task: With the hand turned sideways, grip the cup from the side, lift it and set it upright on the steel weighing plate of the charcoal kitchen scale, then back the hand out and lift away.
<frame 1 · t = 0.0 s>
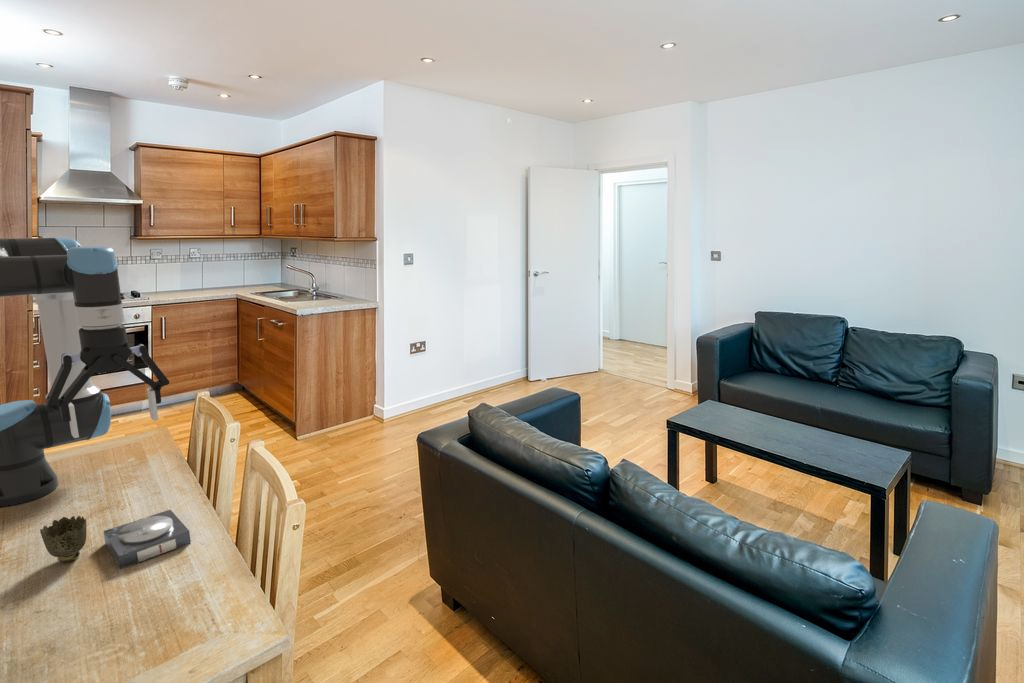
hand: (116, 427, 113), 28 cm above the table, tool pointing down, fingers open, 13 cm apart
kitchen scale: (148, 543, 121), on the table
cup: (69, 559, 115), on the table
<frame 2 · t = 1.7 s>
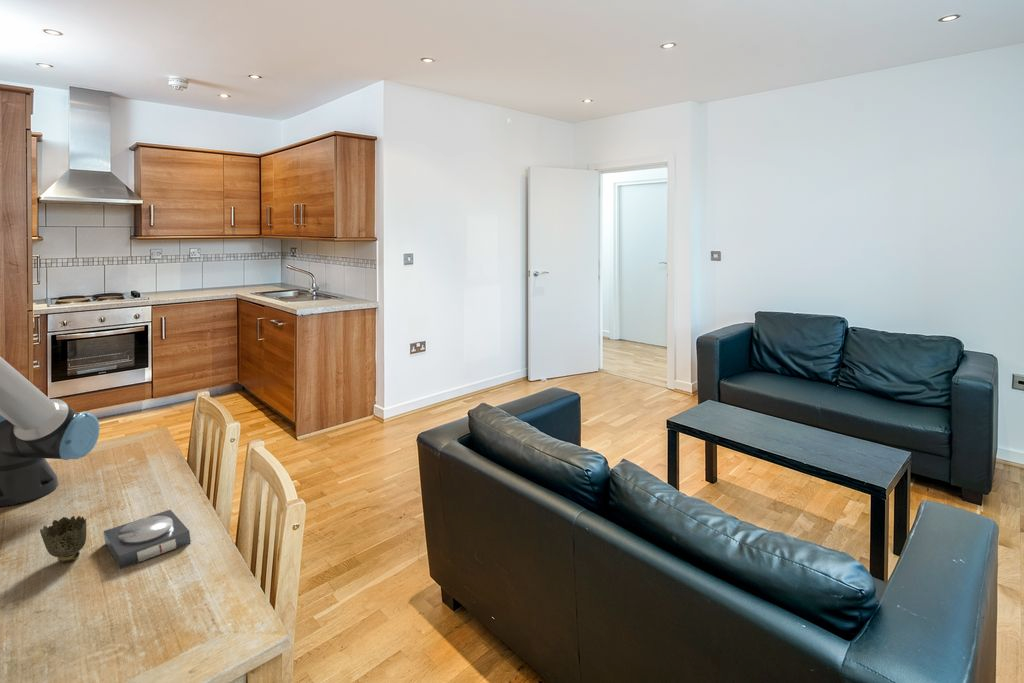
nothing on the table moved.
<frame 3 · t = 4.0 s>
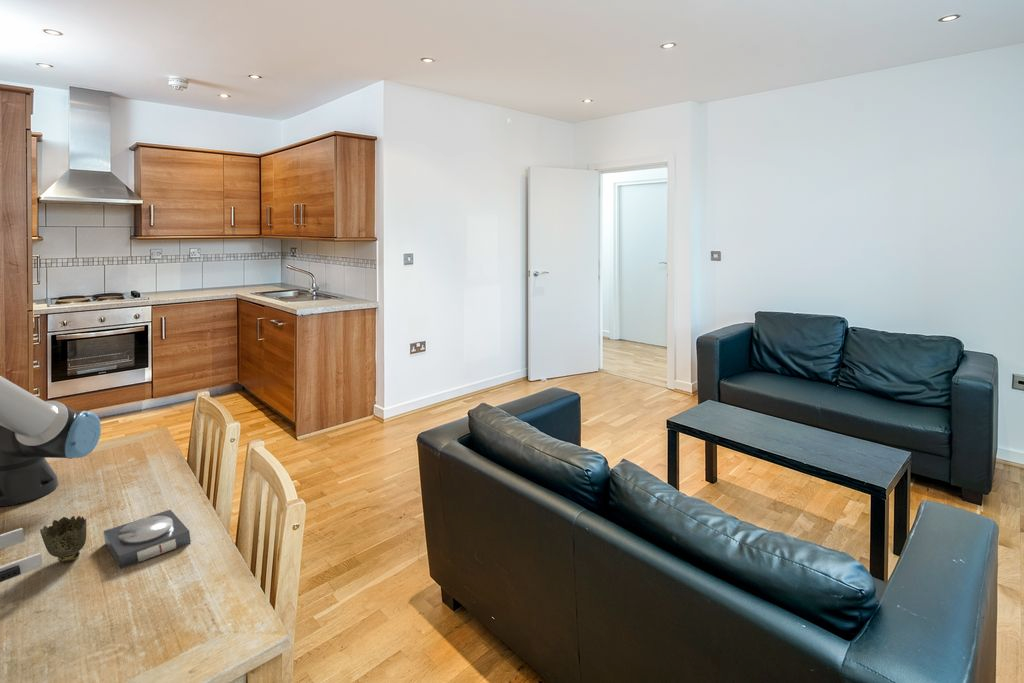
hand: (32, 546, 109), 6 cm above the table, tool horizontal, fingers open, 13 cm apart
nothing on the table moved.
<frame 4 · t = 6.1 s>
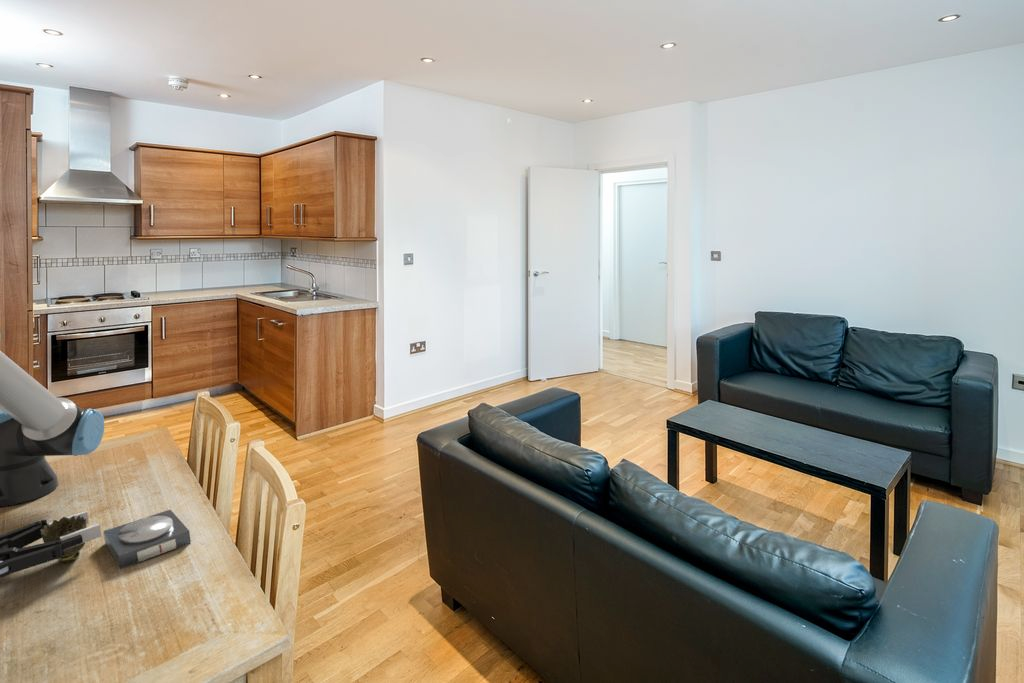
hand: (93, 523, 117), 6 cm above the table, tool horizontal, fingers closed on cup, 7 cm apart
cup: (69, 559, 115), on the table, touching gripper
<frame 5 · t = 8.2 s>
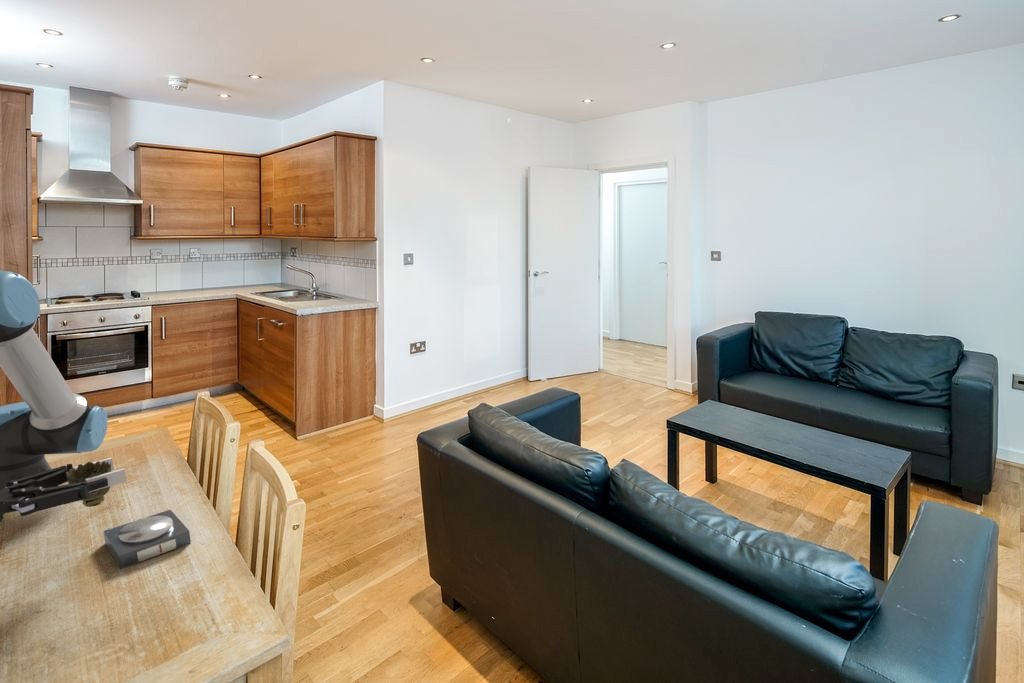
hand: (118, 469, 116), 18 cm above the table, tool horizontal, fingers closed on cup, 7 cm apart
cup: (94, 504, 114), point 12 cm above the table, touching gripper
when the fingers open (11 cm above the table, at t = 10.3 s): cup drops 1 cm, resting on kitchen scale.
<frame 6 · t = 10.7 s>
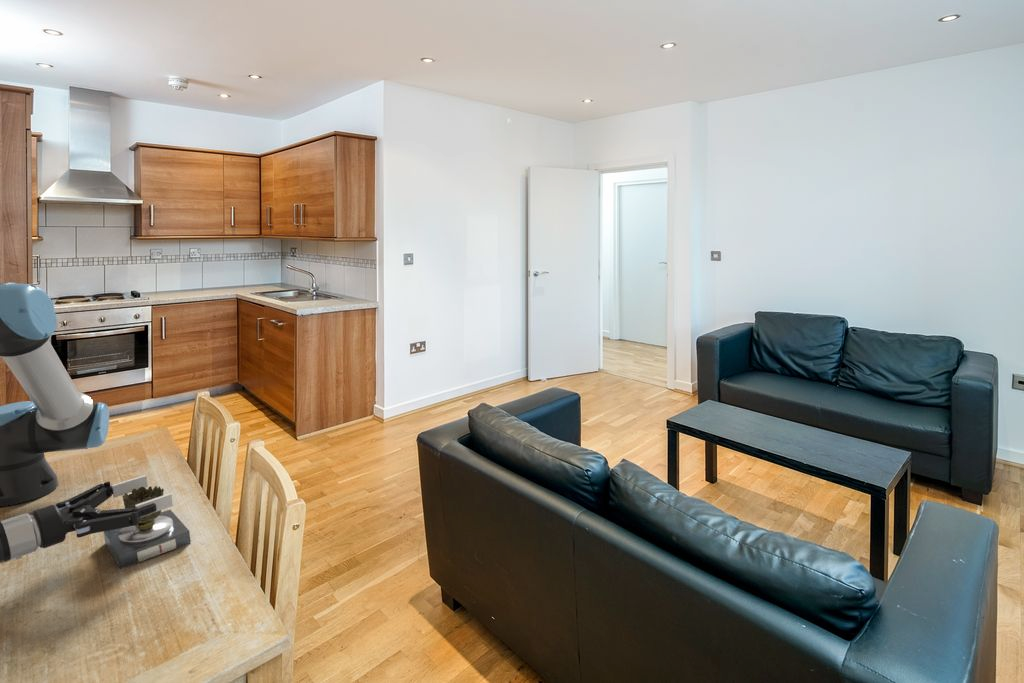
hand: (158, 489, 121), 11 cm above the table, tool horizontal, fingers open, 13 cm apart
cup: (145, 527, 120), point 4 cm above the table, touching kitchen scale
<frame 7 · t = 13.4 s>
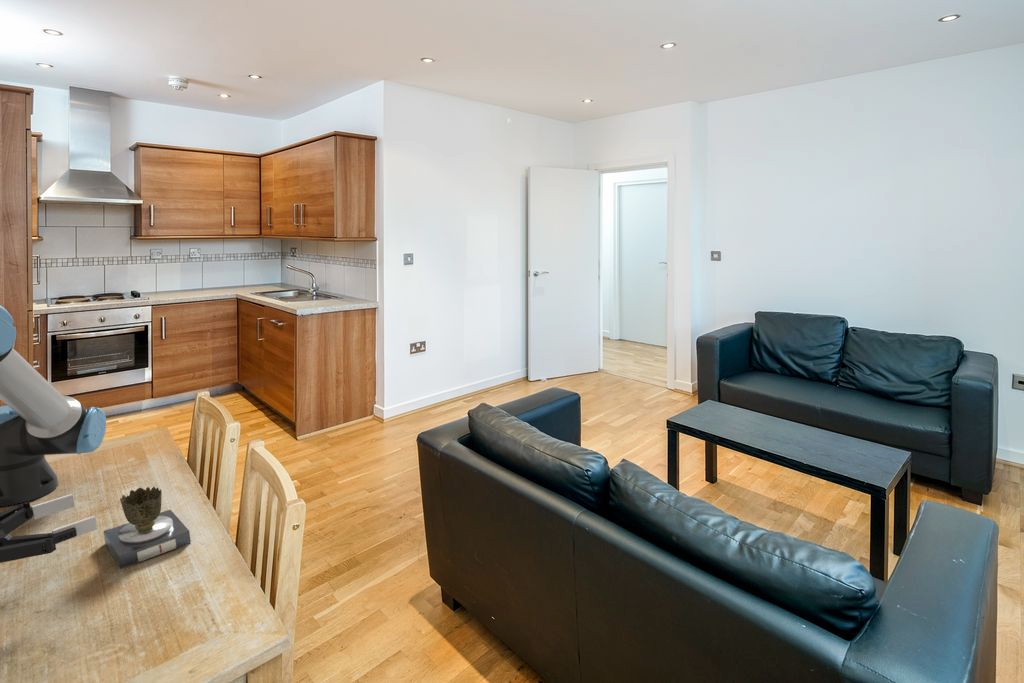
hand: (84, 510, 111), 12 cm above the table, tool horizontal, fingers open, 13 cm apart
nothing on the table moved.
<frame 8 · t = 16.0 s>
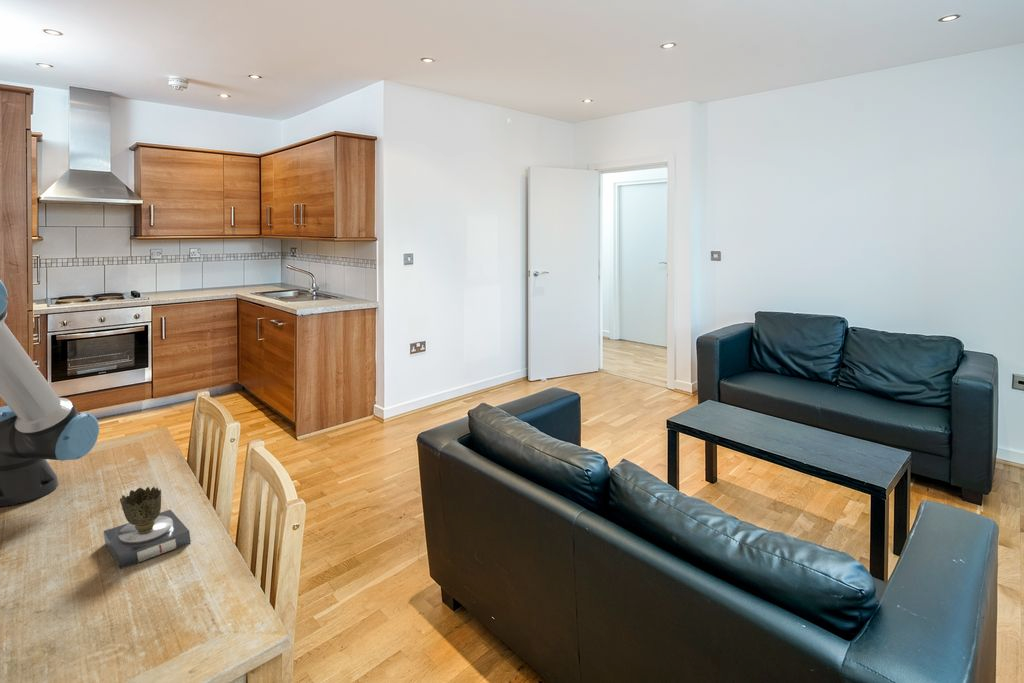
nothing on the table moved.
at the end: cup 0.1 cm off-centre on the kitchen scale, point 3.6 cm above the kitchen scale's base; cup tilted 0°; the gripper is holding nothing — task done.
